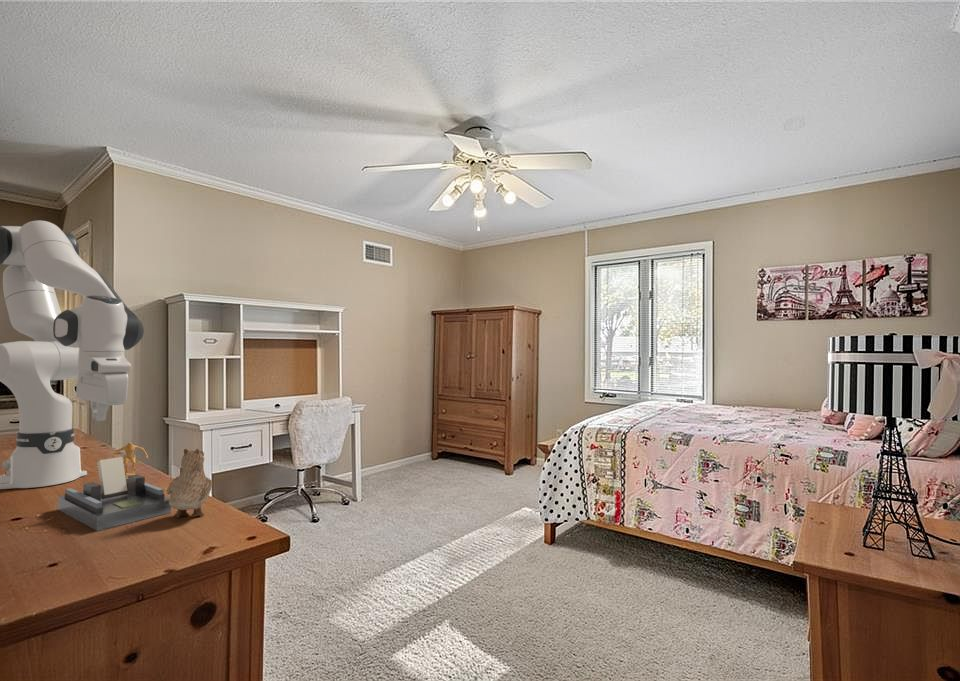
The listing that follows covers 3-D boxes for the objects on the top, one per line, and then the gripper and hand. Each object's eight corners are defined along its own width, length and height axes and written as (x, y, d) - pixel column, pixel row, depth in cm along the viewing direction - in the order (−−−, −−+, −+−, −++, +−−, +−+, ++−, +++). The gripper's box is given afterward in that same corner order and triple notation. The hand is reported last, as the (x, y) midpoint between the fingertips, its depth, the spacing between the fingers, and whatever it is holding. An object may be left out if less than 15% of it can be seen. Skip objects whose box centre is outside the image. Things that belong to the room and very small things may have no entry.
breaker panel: (58, 509, 113) (58, 479, 113) (128, 495, 125) (128, 467, 125) (96, 531, 100) (97, 496, 100) (171, 512, 112) (171, 481, 112)
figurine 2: (221, 510, 114) (222, 445, 114) (197, 525, 104) (198, 454, 104) (182, 509, 114) (184, 444, 114) (154, 524, 104) (156, 453, 104)
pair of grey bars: (64, 497, 112) (64, 488, 113) (129, 484, 123) (129, 476, 123) (97, 513, 102) (97, 503, 102) (164, 498, 112) (164, 489, 112)
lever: (101, 500, 111) (96, 462, 113) (125, 494, 115) (120, 458, 117) (104, 498, 110) (98, 460, 112) (128, 493, 114) (123, 456, 116)
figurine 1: (109, 492, 126) (110, 446, 127) (109, 487, 131) (110, 442, 131) (148, 487, 132) (149, 442, 132) (147, 482, 136) (147, 439, 136)
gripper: (69, 360, 122) (67, 416, 122) (102, 365, 110) (99, 427, 110) (100, 360, 127) (97, 413, 127) (134, 365, 116) (132, 423, 116)
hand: (99, 420), depth 119 cm, fingers closed
